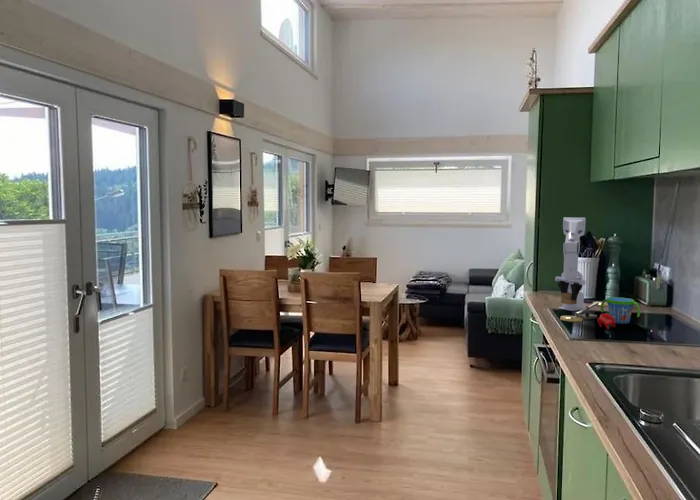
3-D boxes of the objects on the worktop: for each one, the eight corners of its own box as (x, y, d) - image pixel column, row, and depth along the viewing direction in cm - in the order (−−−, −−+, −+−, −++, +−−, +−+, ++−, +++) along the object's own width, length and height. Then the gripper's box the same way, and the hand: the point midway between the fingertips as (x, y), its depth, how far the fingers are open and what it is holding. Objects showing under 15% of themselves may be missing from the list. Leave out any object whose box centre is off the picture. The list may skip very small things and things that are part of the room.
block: (568, 302, 249) (568, 292, 249) (576, 303, 245) (577, 293, 245) (561, 302, 247) (561, 292, 246) (569, 304, 243) (570, 294, 242)
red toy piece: (605, 322, 224) (617, 314, 224) (594, 315, 229) (606, 307, 229) (608, 335, 228) (620, 328, 228) (597, 328, 233) (609, 320, 234)
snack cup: (595, 321, 242) (596, 297, 241) (607, 318, 249) (608, 295, 248) (632, 327, 230) (633, 303, 229) (643, 324, 237) (645, 300, 236)
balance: (600, 312, 260) (600, 298, 259) (617, 316, 252) (618, 302, 251) (555, 319, 245) (556, 304, 244) (572, 323, 237) (573, 307, 237)
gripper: (551, 267, 249) (549, 297, 250) (578, 270, 236) (577, 302, 238) (561, 266, 253) (560, 296, 254) (589, 270, 240) (588, 301, 241)
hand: (569, 299), depth 246 cm, fingers closed on block, 4 cm apart
